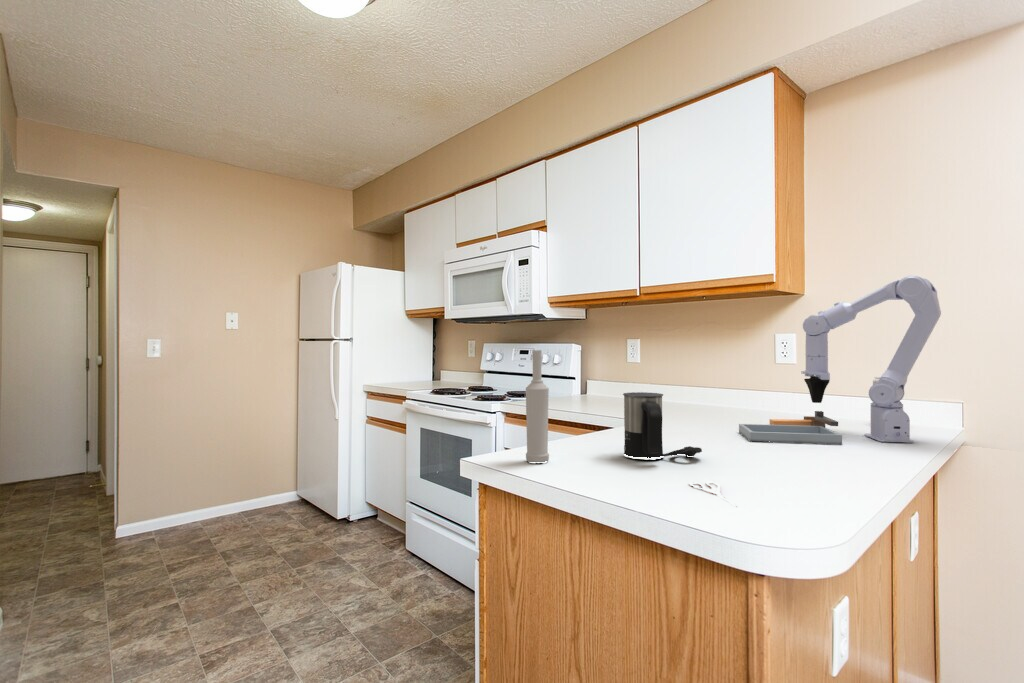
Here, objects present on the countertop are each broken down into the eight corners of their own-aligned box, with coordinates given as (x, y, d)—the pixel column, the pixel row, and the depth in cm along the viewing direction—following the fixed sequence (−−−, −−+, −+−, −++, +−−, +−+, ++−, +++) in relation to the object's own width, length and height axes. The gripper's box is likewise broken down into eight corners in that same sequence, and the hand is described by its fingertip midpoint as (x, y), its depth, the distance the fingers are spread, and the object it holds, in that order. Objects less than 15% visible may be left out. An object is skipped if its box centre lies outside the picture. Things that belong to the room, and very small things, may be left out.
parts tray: (842, 444, 135) (842, 435, 135) (750, 441, 139) (750, 432, 139) (821, 435, 148) (821, 426, 148) (738, 432, 153) (738, 423, 153)
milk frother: (615, 454, 125) (615, 392, 125) (669, 449, 130) (669, 389, 130) (651, 468, 112) (651, 398, 111) (710, 461, 117) (710, 395, 117)
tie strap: (838, 426, 142) (838, 417, 142) (830, 425, 142) (830, 417, 142) (821, 419, 154) (821, 411, 154) (814, 419, 154) (814, 411, 154)
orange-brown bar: (823, 431, 155) (823, 421, 155) (773, 431, 157) (773, 421, 157) (818, 429, 159) (818, 419, 159) (769, 429, 161) (769, 419, 160)
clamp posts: (825, 432, 152) (825, 421, 152) (814, 432, 153) (814, 420, 153) (814, 427, 161) (814, 416, 161) (803, 427, 162) (803, 416, 162)
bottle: (541, 465, 114) (541, 350, 114) (521, 462, 117) (521, 350, 117) (552, 460, 118) (552, 350, 118) (533, 458, 121) (532, 350, 121)
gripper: (794, 355, 163) (794, 399, 163) (810, 357, 149) (810, 405, 149) (818, 355, 161) (819, 399, 161) (838, 357, 147) (838, 405, 147)
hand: (816, 402), depth 155 cm, fingers closed
